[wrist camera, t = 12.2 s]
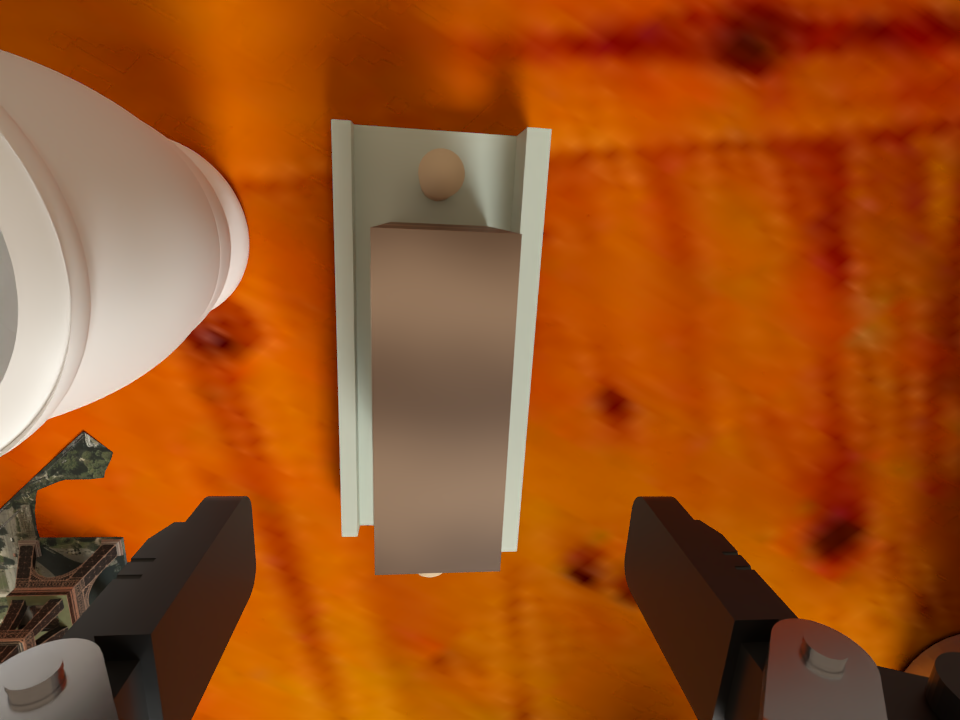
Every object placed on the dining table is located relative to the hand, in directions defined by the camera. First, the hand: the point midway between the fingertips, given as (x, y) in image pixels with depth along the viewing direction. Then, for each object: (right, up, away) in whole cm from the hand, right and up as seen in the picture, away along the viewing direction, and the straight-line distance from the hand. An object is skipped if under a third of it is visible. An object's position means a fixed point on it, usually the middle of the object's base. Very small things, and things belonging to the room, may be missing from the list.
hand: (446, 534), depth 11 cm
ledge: (-2, +5, +16) cm, 17 cm away
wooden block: (-1, +4, +15) cm, 15 cm away
